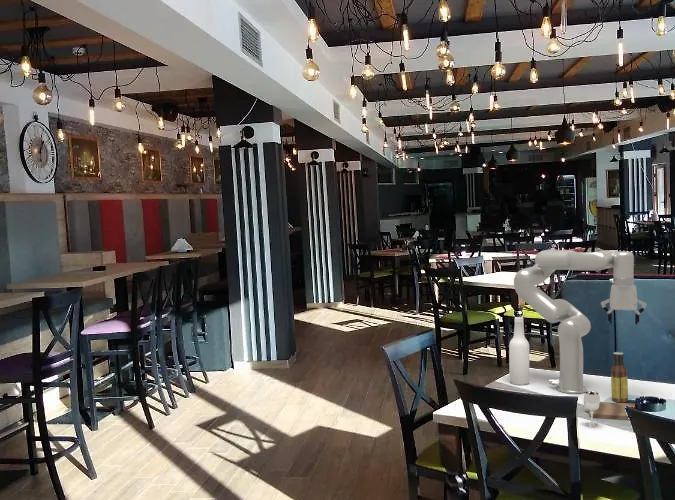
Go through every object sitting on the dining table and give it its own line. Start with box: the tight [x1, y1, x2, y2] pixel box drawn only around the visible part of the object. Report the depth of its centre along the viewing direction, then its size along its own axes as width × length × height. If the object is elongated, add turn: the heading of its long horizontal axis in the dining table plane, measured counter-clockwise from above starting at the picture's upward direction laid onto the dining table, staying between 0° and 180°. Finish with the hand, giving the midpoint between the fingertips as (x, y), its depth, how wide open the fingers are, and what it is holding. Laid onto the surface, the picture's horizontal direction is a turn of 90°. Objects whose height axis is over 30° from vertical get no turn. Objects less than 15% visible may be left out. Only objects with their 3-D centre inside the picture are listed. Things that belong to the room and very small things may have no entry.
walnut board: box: [587, 401, 636, 421], centre depth 258 cm, size 20×16×2 cm
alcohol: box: [508, 316, 531, 386], centre depth 301 cm, size 9×9×30 cm
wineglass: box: [583, 390, 601, 428], centre depth 245 cm, size 6×6×12 cm
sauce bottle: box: [610, 351, 629, 403], centre depth 272 cm, size 6×6×20 cm
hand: (623, 323), depth 272 cm, fingers open, 9 cm apart
